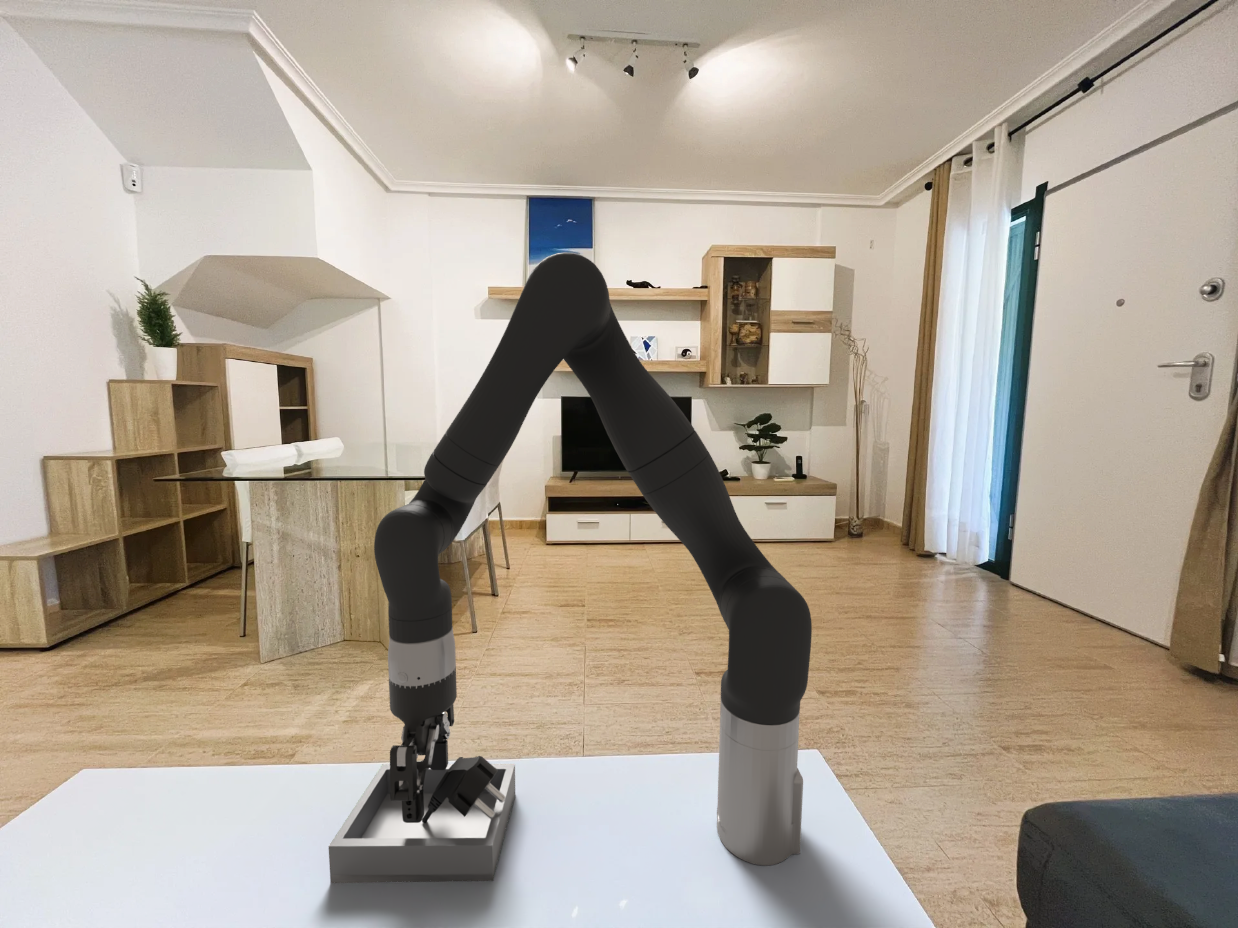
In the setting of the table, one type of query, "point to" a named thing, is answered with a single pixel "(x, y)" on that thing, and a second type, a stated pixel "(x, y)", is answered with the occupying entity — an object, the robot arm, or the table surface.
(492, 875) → the box
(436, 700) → the robot arm
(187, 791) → the table surface
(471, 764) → the power plug
